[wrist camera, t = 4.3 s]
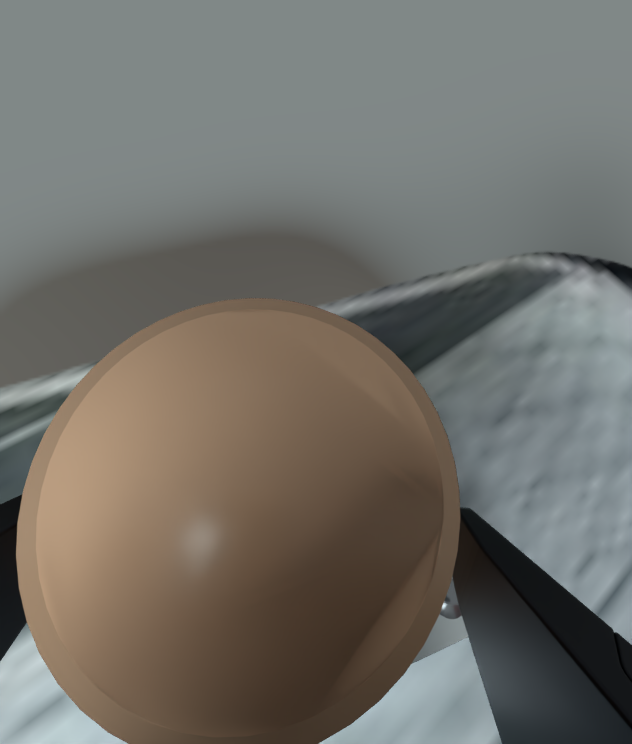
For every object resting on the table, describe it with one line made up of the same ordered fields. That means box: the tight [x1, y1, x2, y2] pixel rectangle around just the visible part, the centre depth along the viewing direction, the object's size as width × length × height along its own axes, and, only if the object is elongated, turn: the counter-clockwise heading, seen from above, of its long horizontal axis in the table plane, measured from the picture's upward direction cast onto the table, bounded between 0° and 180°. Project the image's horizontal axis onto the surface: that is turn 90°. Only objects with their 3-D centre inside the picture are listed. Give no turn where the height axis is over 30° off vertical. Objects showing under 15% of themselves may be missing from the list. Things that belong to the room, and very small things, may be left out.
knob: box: [16, 298, 460, 744], centre depth 10 cm, size 7×7×13 cm
